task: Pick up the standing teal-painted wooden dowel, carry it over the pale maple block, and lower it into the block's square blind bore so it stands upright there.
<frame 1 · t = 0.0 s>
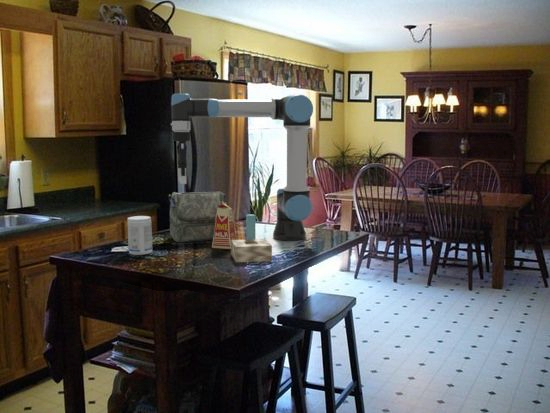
hand: (182, 182, 260), 28 cm above the kitchen island, fingers open, 13 cm apart
lunch bag: (197, 238, 286), on the kitchen island
supplement tub: (140, 253, 254), on the kitchen island
dowel: (250, 250, 258), on the kitchen island
milk carton: (224, 246, 267), on the kitchen island
bore block: (251, 257, 245), on the kitchen island
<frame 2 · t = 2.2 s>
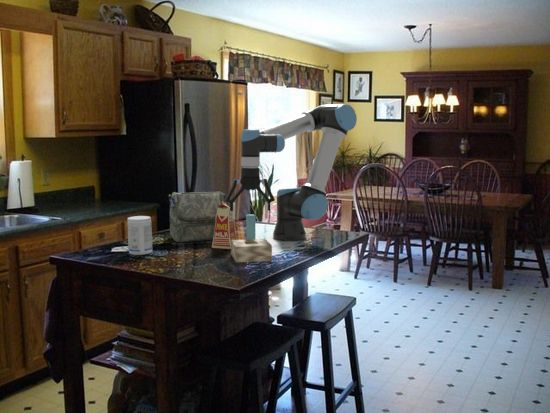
hand: (250, 218, 256), 14 cm above the kitchen island, fingers open, 13 cm apart
nothing on the kitchen island moved.
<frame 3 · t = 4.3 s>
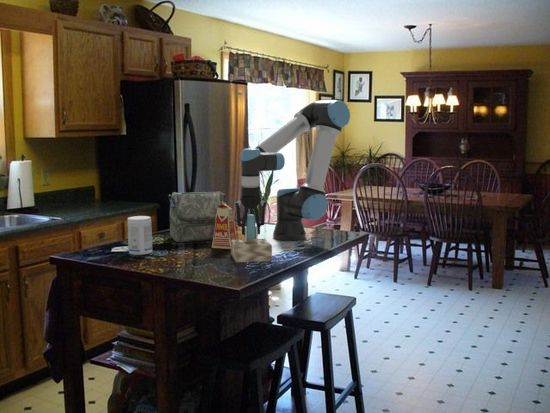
hand: (250, 242, 258), 4 cm above the kitchen island, fingers closed on dowel, 4 cm apart
dowel: (251, 250, 258), on the kitchen island, touching gripper
everything else where it was.
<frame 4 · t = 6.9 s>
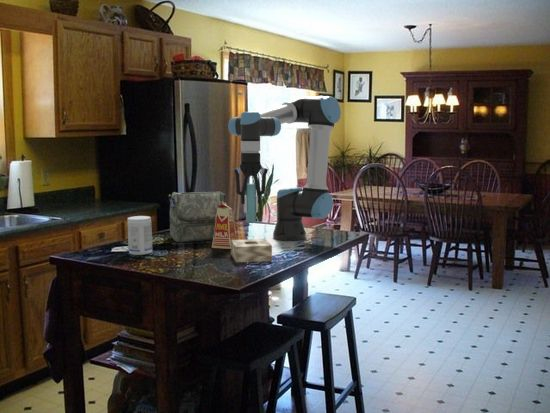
hand: (250, 212, 243), 18 cm above the kitchen island, fingers closed on dowel, 4 cm apart
dowel: (250, 222, 243), point 14 cm above the kitchen island, touching gripper
everything else where it was.
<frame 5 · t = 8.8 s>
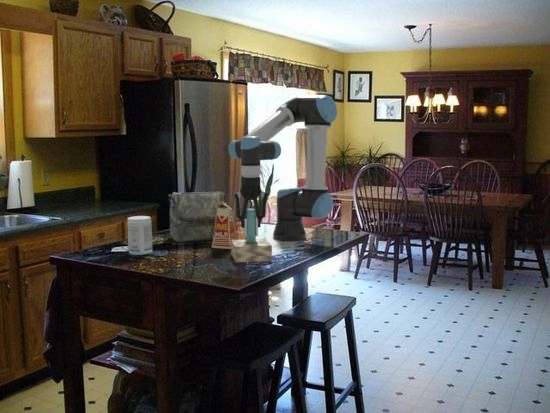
hand: (250, 235, 244), 9 cm above the kitchen island, fingers closed on dowel, 4 cm apart
dowel: (250, 247, 244), point 4 cm above the kitchen island, touching gripper
everything else where it was.
when the fingers open (7 cm above the kitchen island, at t = 10.0 s): dowel stays where it is, resting on bore block.
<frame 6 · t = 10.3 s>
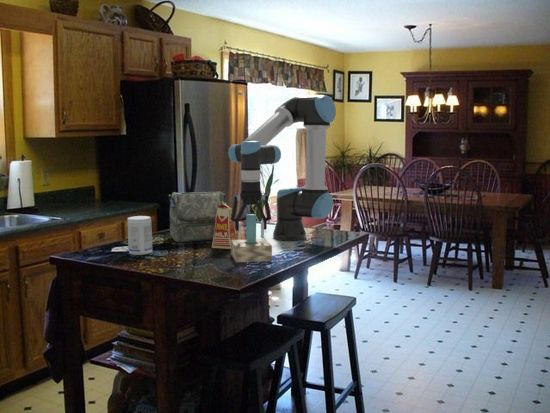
hand: (251, 238, 244), 8 cm above the kitchen island, fingers open, 8 cm apart
dowel: (251, 252, 245), point 2 cm above the kitchen island, touching bore block
everything else where it was.
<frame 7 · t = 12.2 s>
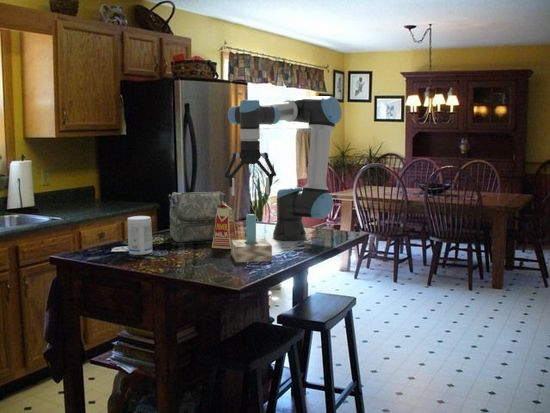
hand: (250, 194, 242), 25 cm above the kitchen island, fingers open, 13 cm apart
nothing on the kitchen island moved.
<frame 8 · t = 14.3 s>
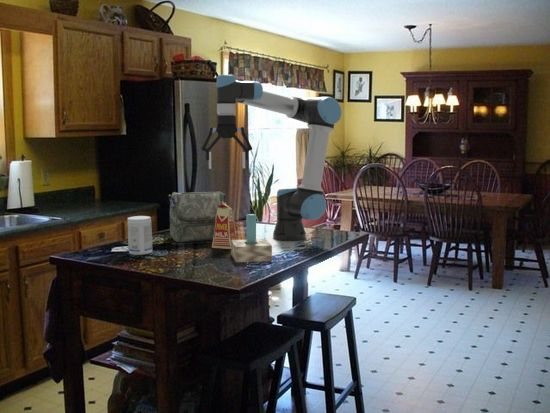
hand: (227, 168, 248), 35 cm above the kitchen island, fingers open, 13 cm apart
nothing on the kitchen island moved.
at the end: dowel 0.0 cm off-centre on the bore block, point 2.1 cm above the bore block's base; dowel tilted 0°; the gripper is holding nothing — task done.
